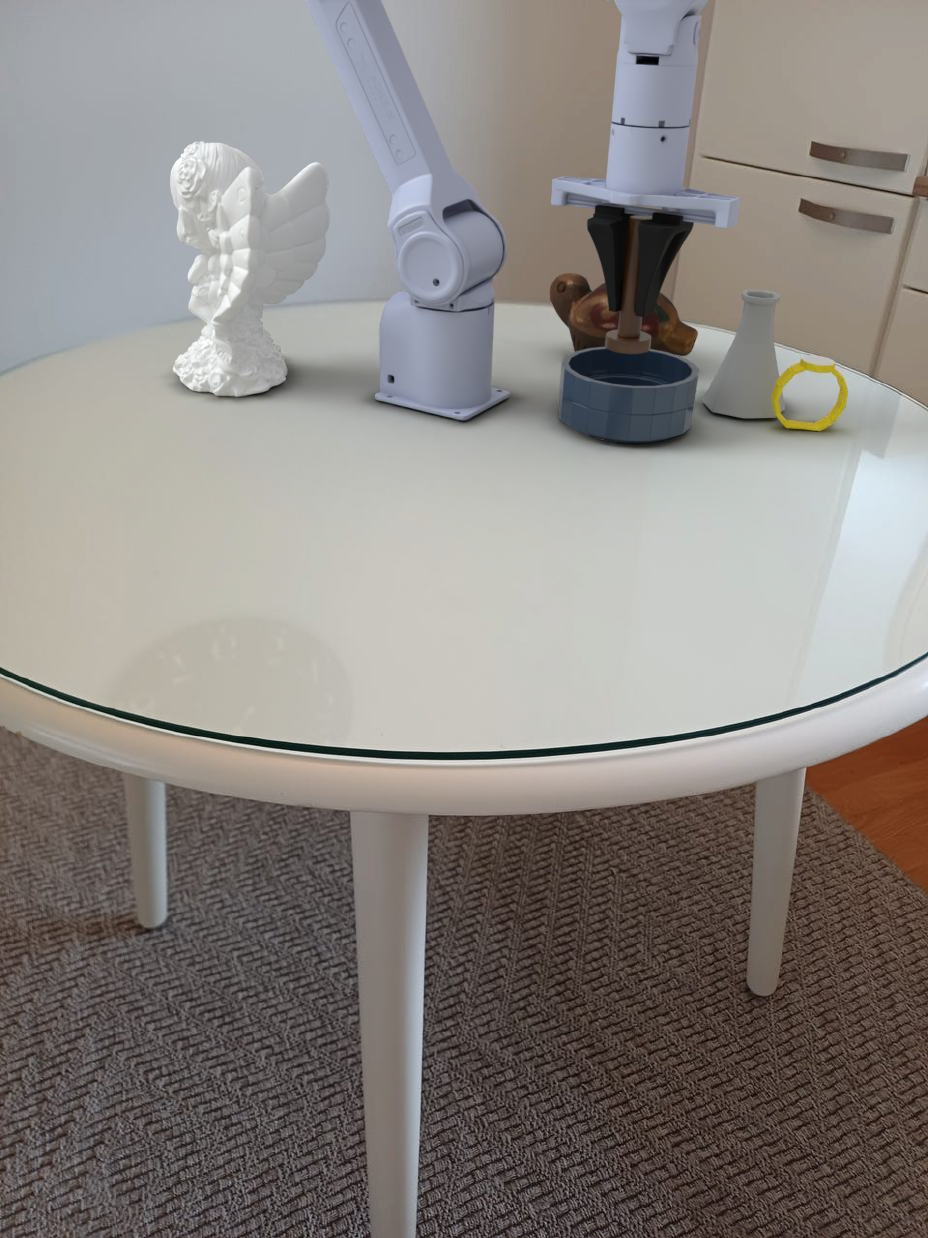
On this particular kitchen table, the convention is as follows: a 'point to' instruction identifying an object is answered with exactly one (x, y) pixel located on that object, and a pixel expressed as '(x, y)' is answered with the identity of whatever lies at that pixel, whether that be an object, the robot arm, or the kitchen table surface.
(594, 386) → the bowl
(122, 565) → the kitchen table surface
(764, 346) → the flask
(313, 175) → the cherub figurine
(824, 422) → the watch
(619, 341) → the brown wooden pestle
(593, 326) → the decorative turtle
